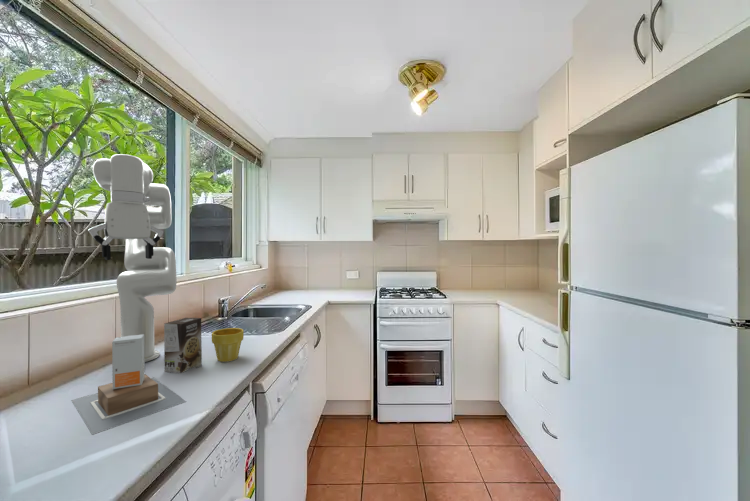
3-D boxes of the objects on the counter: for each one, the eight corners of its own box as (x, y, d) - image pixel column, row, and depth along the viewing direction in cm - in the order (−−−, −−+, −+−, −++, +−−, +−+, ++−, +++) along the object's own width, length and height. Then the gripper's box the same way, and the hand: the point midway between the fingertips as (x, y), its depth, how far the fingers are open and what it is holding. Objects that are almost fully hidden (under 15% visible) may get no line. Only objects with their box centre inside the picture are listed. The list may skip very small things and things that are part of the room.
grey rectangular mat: (71, 404, 82) (71, 399, 82) (153, 380, 96) (153, 376, 96) (92, 439, 67) (92, 433, 67) (186, 405, 81) (186, 400, 81)
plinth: (98, 402, 81) (97, 386, 80) (145, 388, 88) (145, 374, 88) (108, 415, 74) (107, 398, 74) (158, 399, 82) (158, 383, 82)
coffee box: (181, 376, 99) (180, 324, 99) (163, 374, 100) (162, 323, 100) (202, 365, 108) (202, 317, 108) (186, 364, 109) (185, 316, 109)
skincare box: (112, 390, 78) (111, 341, 78) (116, 383, 82) (115, 337, 82) (142, 385, 81) (141, 337, 81) (145, 379, 85) (144, 333, 85)
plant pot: (249, 354, 118) (249, 328, 118) (232, 364, 108) (232, 335, 108) (224, 353, 120) (224, 326, 120) (205, 363, 110) (204, 334, 110)
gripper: (158, 203, 101) (158, 257, 102) (85, 197, 88) (86, 260, 88) (166, 201, 97) (167, 258, 97) (91, 194, 83) (92, 260, 84)
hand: (128, 259), depth 93 cm, fingers open, 9 cm apart
